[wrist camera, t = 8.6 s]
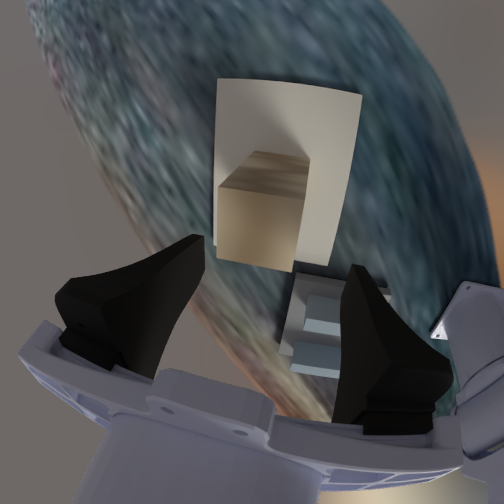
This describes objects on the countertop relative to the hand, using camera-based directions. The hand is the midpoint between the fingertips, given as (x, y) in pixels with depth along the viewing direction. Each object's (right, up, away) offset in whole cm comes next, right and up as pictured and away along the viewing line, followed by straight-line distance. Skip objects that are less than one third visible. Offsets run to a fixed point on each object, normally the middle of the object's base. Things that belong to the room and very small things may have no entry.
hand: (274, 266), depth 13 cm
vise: (+7, -6, +14) cm, 17 cm away
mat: (+1, +6, +7) cm, 9 cm away
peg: (+1, +6, +7) cm, 9 cm away
